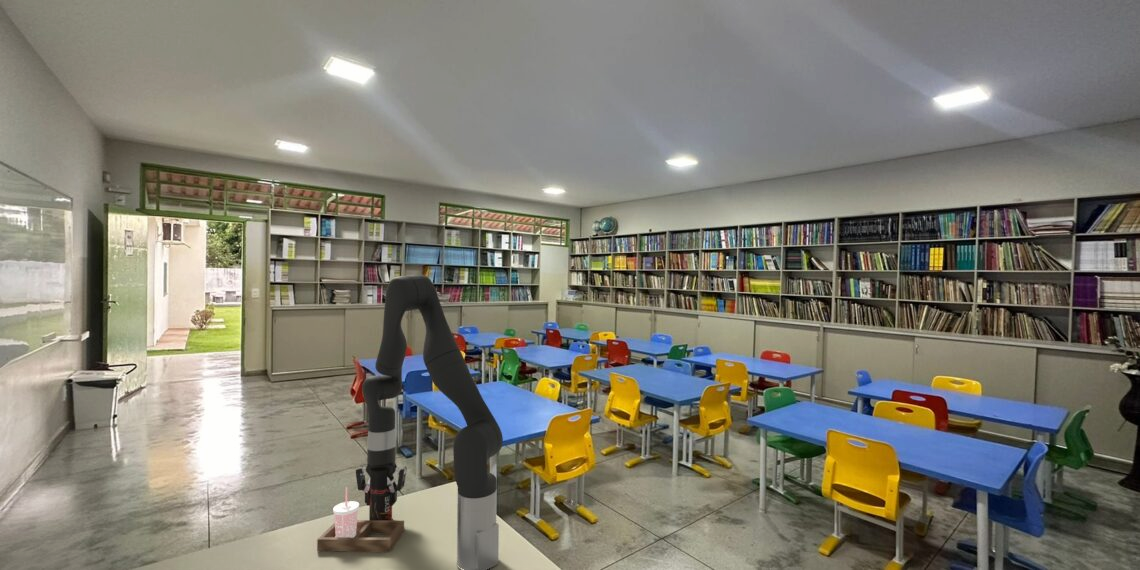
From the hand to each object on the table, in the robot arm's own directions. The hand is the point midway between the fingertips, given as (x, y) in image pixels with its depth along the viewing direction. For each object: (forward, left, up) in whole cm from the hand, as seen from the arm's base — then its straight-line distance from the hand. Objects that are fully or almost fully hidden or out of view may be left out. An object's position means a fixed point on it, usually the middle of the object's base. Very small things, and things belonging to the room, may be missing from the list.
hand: (380, 504), depth 128 cm
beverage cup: (-4, +11, -5) cm, 13 cm away
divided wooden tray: (-7, +8, -5) cm, 12 cm away
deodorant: (0, 0, -5) cm, 5 cm away
